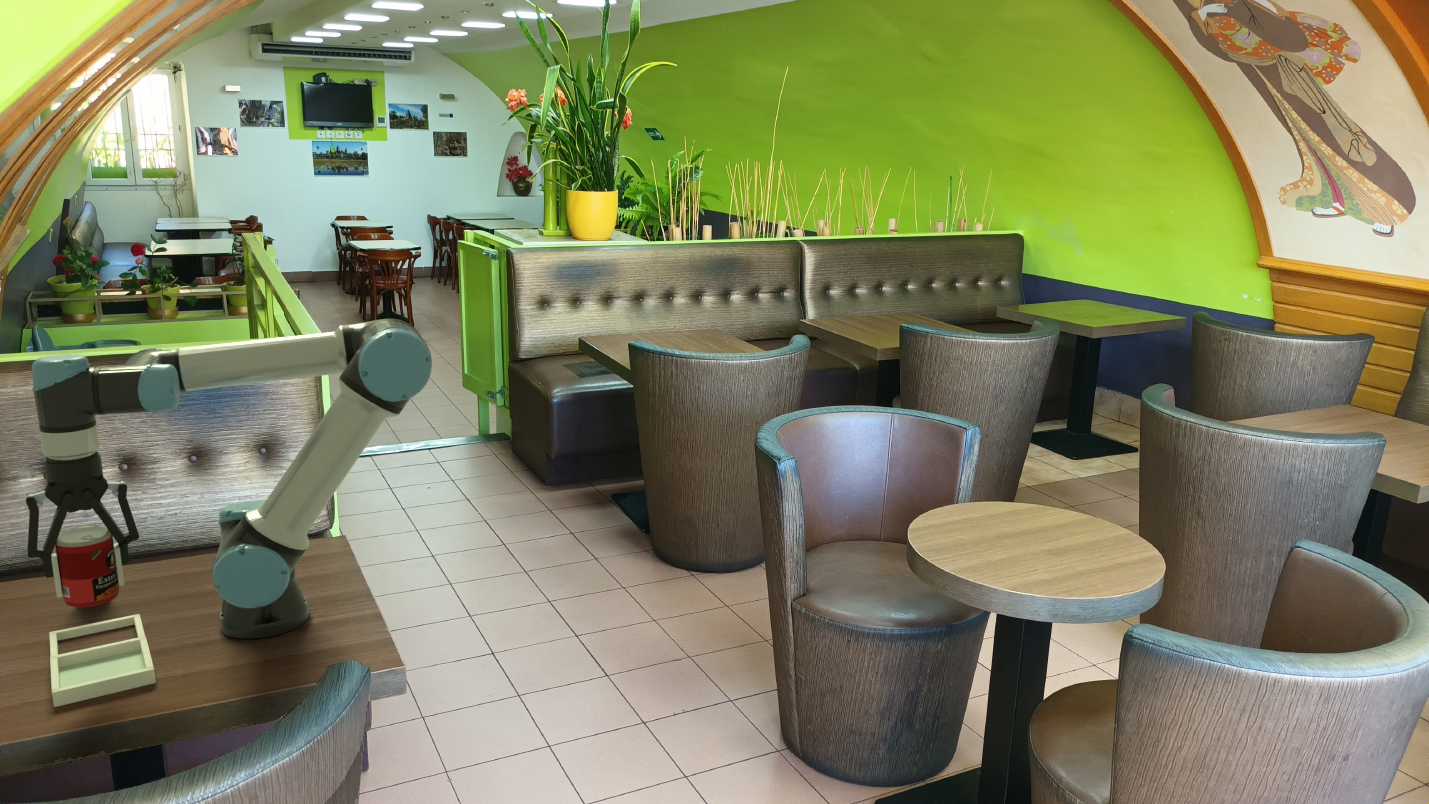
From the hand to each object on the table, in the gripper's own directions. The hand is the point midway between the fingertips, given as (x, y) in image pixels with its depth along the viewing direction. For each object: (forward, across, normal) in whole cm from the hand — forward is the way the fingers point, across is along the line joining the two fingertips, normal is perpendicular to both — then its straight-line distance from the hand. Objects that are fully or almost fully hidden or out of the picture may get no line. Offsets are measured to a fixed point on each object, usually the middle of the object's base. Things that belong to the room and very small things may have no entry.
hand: (90, 588), depth 161 cm
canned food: (+2, 0, 0) cm, 2 cm away
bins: (+16, 0, -6) cm, 17 cm away
